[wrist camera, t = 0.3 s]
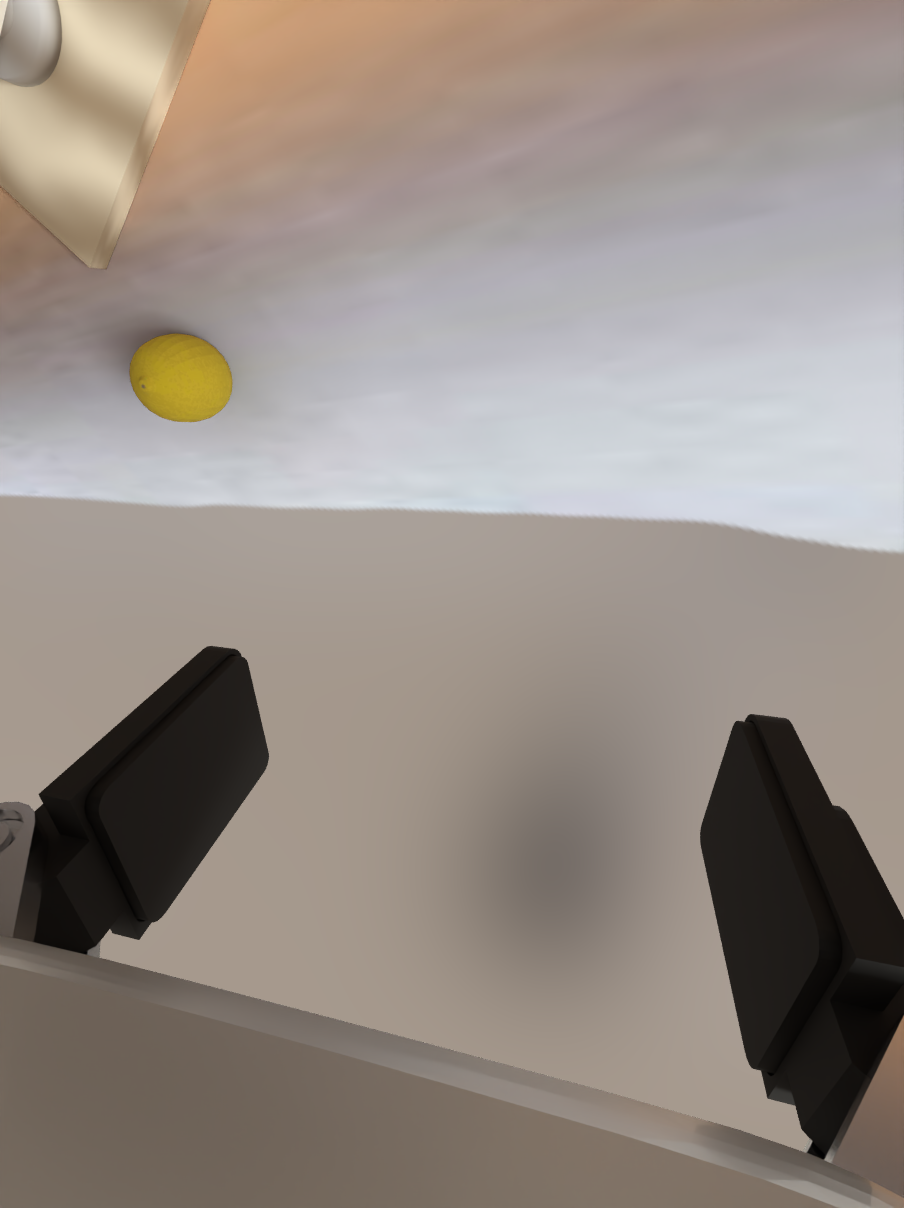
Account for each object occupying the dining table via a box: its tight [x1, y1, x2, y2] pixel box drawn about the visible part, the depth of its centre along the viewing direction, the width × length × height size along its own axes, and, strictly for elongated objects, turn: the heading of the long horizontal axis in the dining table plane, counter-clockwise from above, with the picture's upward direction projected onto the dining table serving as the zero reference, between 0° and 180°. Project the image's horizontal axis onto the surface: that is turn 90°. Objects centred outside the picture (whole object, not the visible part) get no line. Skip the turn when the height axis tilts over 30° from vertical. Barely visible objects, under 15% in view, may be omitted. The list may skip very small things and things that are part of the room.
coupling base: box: [0, 0, 211, 269], centre depth 30 cm, size 18×18×4 cm
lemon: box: [130, 334, 232, 422], centre depth 37 cm, size 6×6×8 cm
